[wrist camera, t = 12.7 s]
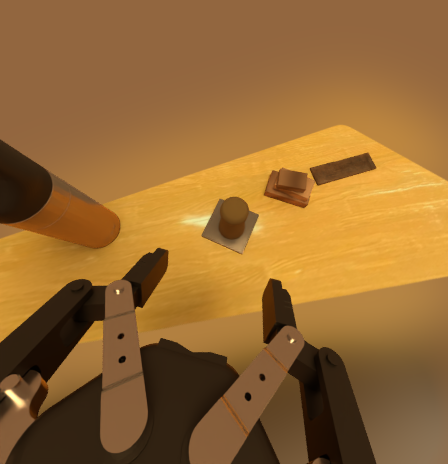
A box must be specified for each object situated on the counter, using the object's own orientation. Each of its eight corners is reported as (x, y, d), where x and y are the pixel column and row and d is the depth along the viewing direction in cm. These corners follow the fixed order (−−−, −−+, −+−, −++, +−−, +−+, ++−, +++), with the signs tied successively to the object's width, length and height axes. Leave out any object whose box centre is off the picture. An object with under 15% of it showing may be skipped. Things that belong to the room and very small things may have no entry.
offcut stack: (264, 195, 44) (269, 183, 39) (270, 174, 46) (276, 160, 40) (304, 207, 43) (315, 197, 38) (309, 186, 45) (320, 173, 40)
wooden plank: (319, 184, 44) (311, 166, 45) (316, 186, 46) (308, 169, 46) (377, 167, 46) (368, 151, 47) (372, 170, 47) (364, 154, 48)
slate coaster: (201, 236, 41) (201, 235, 41) (220, 199, 44) (219, 198, 43) (242, 254, 40) (242, 253, 40) (258, 215, 43) (259, 215, 42)
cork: (213, 224, 41) (210, 204, 31) (234, 209, 42) (238, 185, 32) (229, 245, 40) (231, 231, 29) (250, 229, 41) (260, 210, 30)
